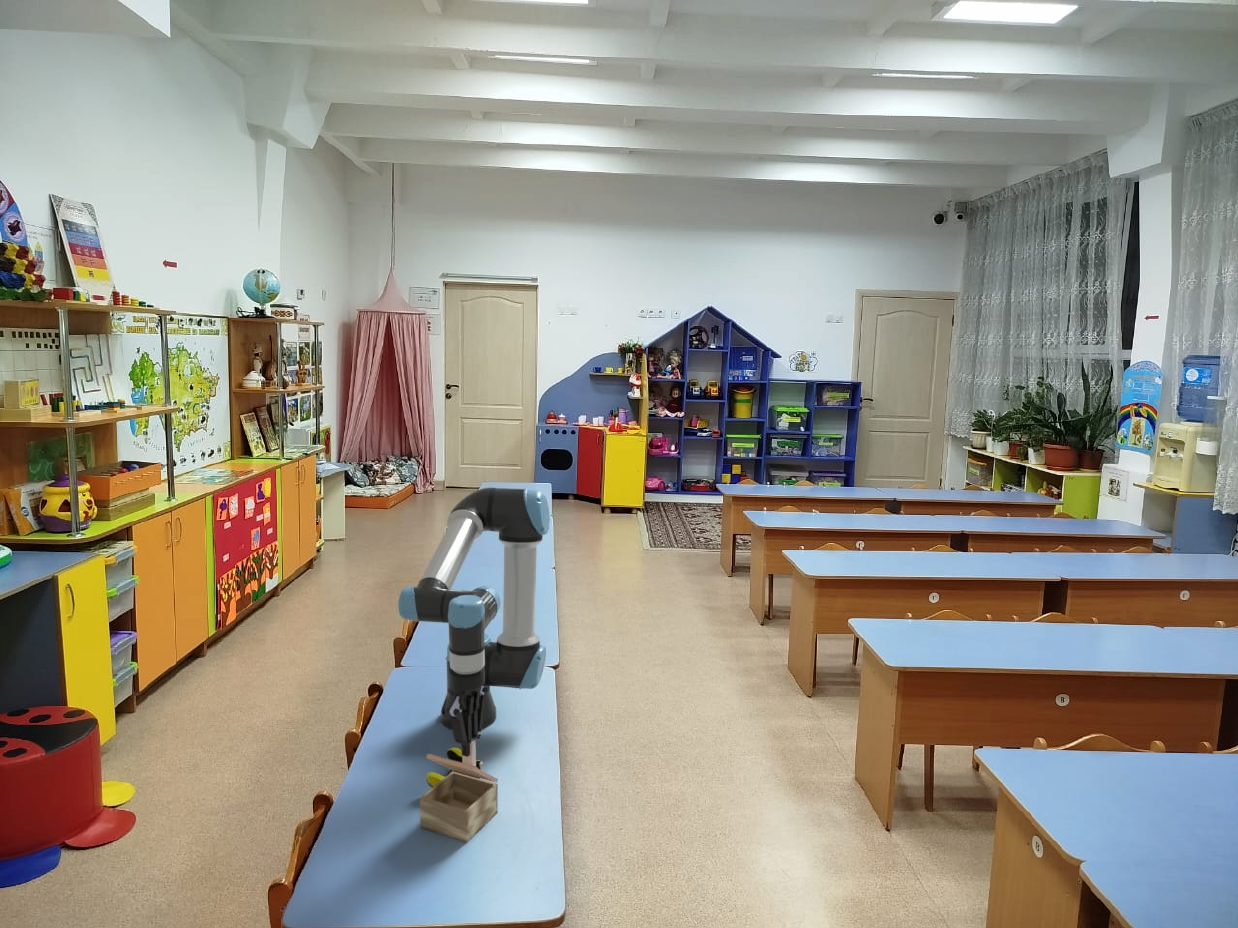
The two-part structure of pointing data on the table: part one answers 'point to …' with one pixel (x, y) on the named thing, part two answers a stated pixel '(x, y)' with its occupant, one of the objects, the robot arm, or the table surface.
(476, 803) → the box
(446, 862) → the table surface
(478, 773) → the lid
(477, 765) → the gaming controller
